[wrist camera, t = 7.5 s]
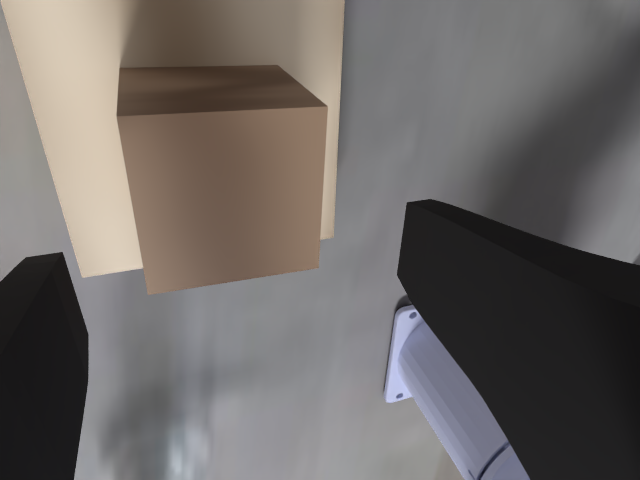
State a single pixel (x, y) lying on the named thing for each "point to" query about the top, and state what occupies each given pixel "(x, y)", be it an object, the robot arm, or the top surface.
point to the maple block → (153, 51)
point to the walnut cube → (222, 172)
